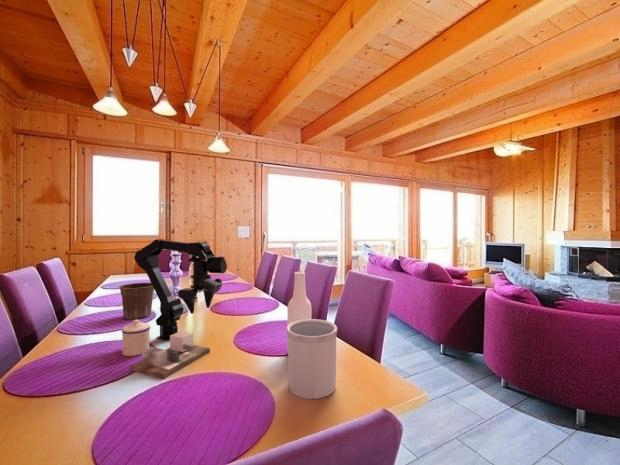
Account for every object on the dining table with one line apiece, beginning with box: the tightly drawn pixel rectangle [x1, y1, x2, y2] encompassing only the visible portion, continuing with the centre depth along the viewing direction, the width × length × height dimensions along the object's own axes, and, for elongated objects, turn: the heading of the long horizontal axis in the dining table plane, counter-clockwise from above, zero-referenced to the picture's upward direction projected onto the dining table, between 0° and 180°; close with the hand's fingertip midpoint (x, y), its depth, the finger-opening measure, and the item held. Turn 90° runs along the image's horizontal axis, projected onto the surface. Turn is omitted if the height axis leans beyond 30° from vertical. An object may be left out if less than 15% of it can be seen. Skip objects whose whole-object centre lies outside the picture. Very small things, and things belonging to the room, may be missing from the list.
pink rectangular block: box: [169, 330, 195, 352], centre depth 106 cm, size 10×5×5 cm, turn 69°
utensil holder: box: [286, 318, 338, 400], centre depth 85 cm, size 15×15×18 cm
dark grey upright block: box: [169, 350, 179, 362], centre depth 96 cm, size 3×1×3 cm, turn 69°
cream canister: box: [121, 319, 151, 357], centre depth 108 cm, size 12×9×12 cm
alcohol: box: [286, 271, 312, 353], centre depth 107 cm, size 9×9×30 cm
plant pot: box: [118, 282, 155, 320], centre depth 150 cm, size 16×16×16 cm
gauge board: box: [130, 344, 211, 380], centre depth 100 cm, size 14×20×6 cm
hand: (200, 310), depth 120 cm, fingers open, 9 cm apart
